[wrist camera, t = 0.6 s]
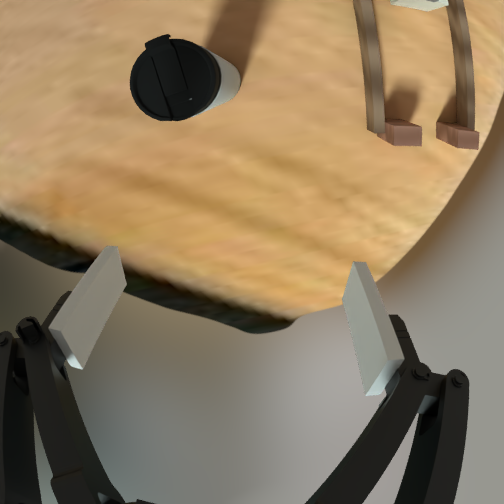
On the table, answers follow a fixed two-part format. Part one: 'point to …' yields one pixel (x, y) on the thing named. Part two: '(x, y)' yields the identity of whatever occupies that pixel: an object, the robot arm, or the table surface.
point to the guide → (376, 122)
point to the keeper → (421, 4)
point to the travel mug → (181, 79)
